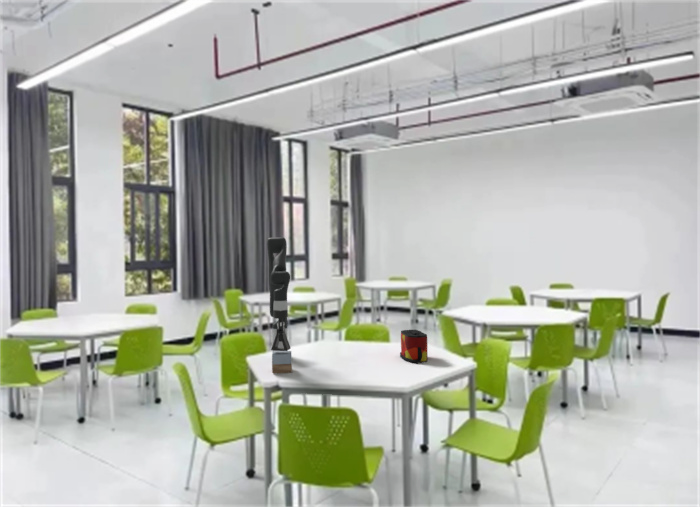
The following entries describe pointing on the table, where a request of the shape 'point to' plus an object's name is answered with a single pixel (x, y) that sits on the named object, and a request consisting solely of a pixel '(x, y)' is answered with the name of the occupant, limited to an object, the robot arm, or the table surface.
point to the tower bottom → (281, 368)
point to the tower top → (281, 357)
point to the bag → (413, 346)
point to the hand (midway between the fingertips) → (280, 340)
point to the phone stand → (285, 342)
